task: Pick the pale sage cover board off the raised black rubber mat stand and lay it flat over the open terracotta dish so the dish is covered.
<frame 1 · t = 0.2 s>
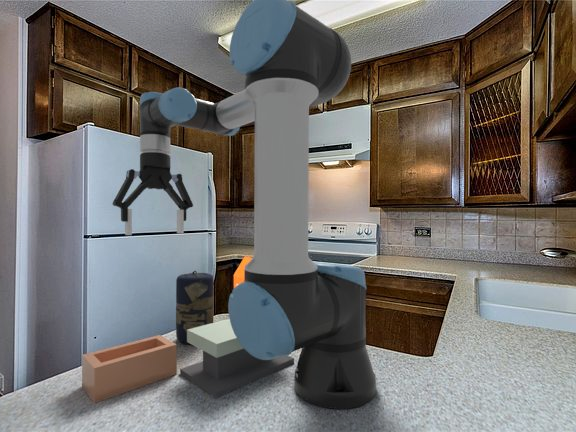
hand: (155, 234, 87), 28 cm above the countertop, fingers open, 13 cm apart
orange juice: (251, 325, 99), on the countertop
dish: (131, 380, 65), on the countertop
cover board: (239, 337, 70), point 6 cm above the countertop, touching mat stand
canister: (195, 340, 87), on the countertop
mat stand: (239, 368, 70), on the countertop
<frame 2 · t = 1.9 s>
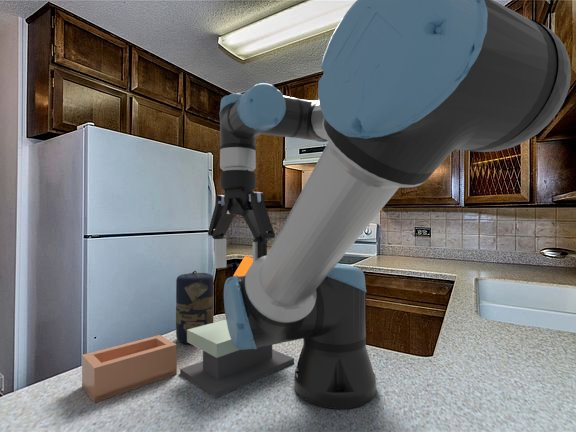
hand: (238, 271, 70), 20 cm above the countertop, fingers open, 13 cm apart
nothing on the countertop moved.
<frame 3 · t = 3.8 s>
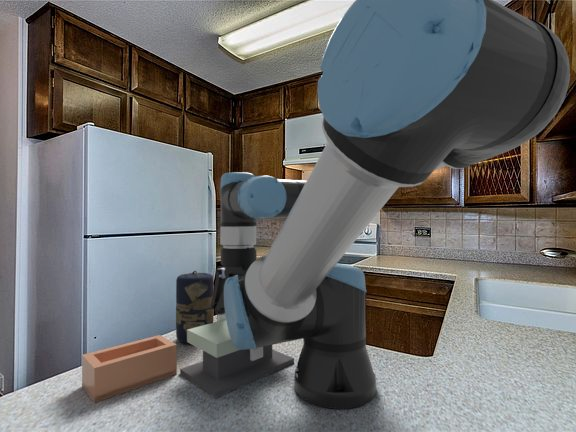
hand: (239, 350, 70), 4 cm above the countertop, fingers closed on cover board, 11 cm apart
cover board: (239, 337, 70), point 7 cm above the countertop, touching gripper, mat stand
everything else where it was.
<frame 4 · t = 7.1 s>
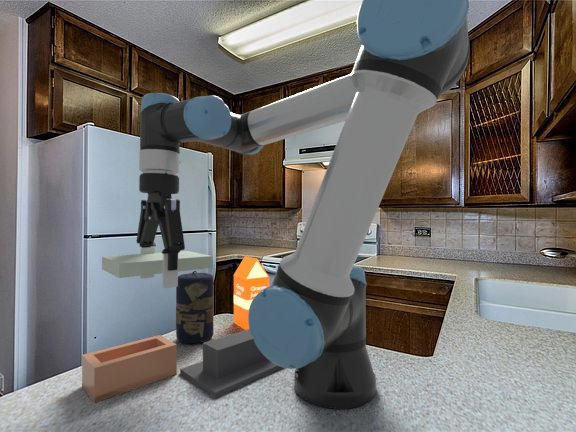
hand: (157, 282, 67), 19 cm above the countertop, fingers closed on cover board, 11 cm apart
cover board: (158, 268, 67), point 22 cm above the countertop, touching gripper
everything else where it was.
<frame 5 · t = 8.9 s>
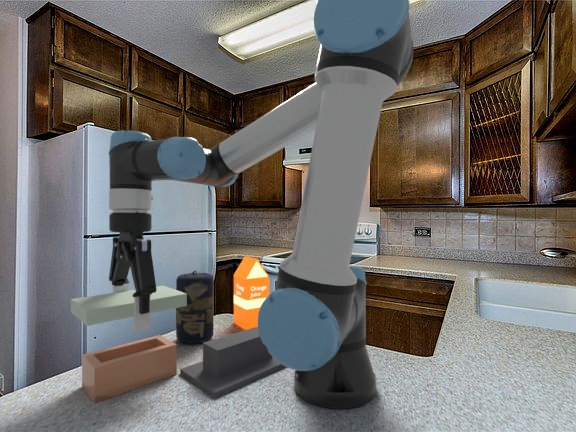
hand: (130, 323, 65), 11 cm above the countertop, fingers closed on cover board, 11 cm apart
cover board: (130, 308, 65), point 14 cm above the countertop, touching gripper
everything else where it was.
when the fingers open (5 cm above the countertop, at t = 10.6 s): cover board drops 2 cm, resting on dish.
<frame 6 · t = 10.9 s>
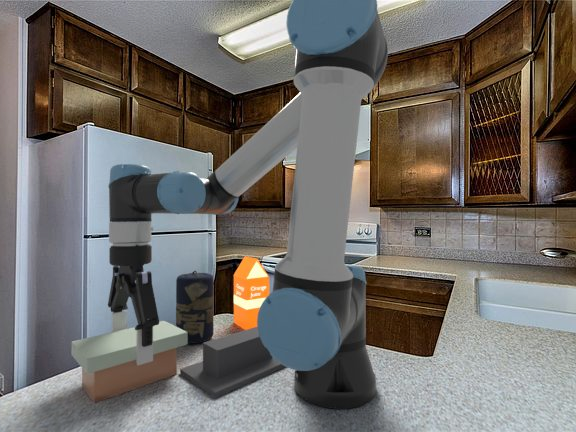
hand: (131, 352, 65), 5 cm above the countertop, fingers open, 13 cm apart
cover board: (131, 349, 65), point 6 cm above the countertop, touching dish
everything else where it was.
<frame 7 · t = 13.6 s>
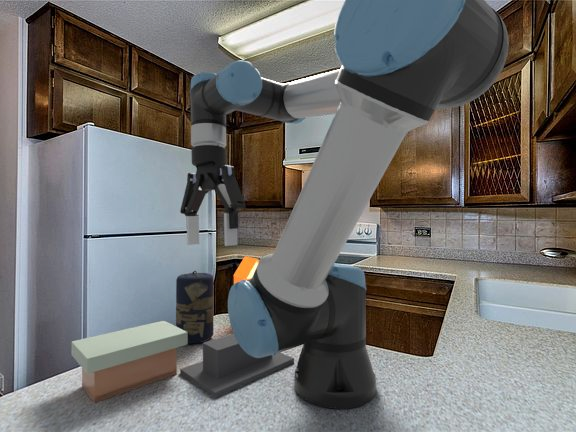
hand: (211, 245, 72), 26 cm above the countertop, fingers open, 13 cm apart
nothing on the countertop moved.
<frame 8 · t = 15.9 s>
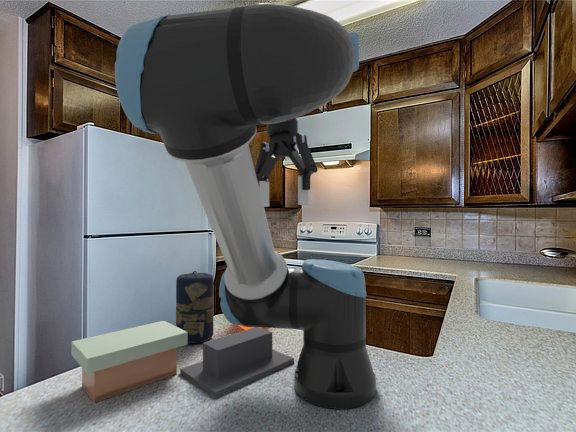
hand: (282, 205, 81), 35 cm above the countertop, fingers open, 13 cm apart
nothing on the countertop moved.
at the end: cover board 0.1 cm off-centre on the dish, point 6.0 cm above the dish's base; cover board tilted 0°; the gripper is holding nothing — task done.
